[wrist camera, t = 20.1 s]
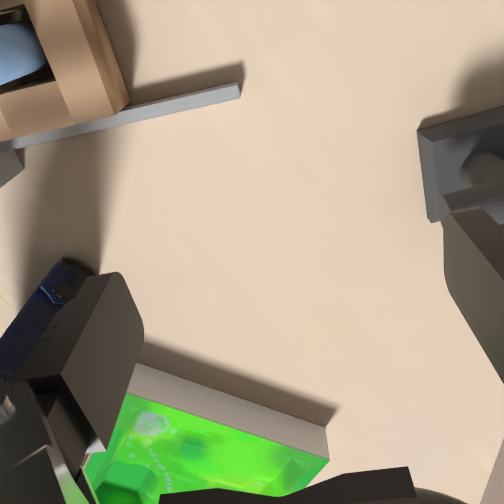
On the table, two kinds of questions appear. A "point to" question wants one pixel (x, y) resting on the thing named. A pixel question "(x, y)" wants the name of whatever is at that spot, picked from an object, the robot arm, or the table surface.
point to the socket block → (63, 71)
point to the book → (39, 315)
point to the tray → (201, 444)
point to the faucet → (464, 165)
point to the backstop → (114, 122)
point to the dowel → (20, 51)
